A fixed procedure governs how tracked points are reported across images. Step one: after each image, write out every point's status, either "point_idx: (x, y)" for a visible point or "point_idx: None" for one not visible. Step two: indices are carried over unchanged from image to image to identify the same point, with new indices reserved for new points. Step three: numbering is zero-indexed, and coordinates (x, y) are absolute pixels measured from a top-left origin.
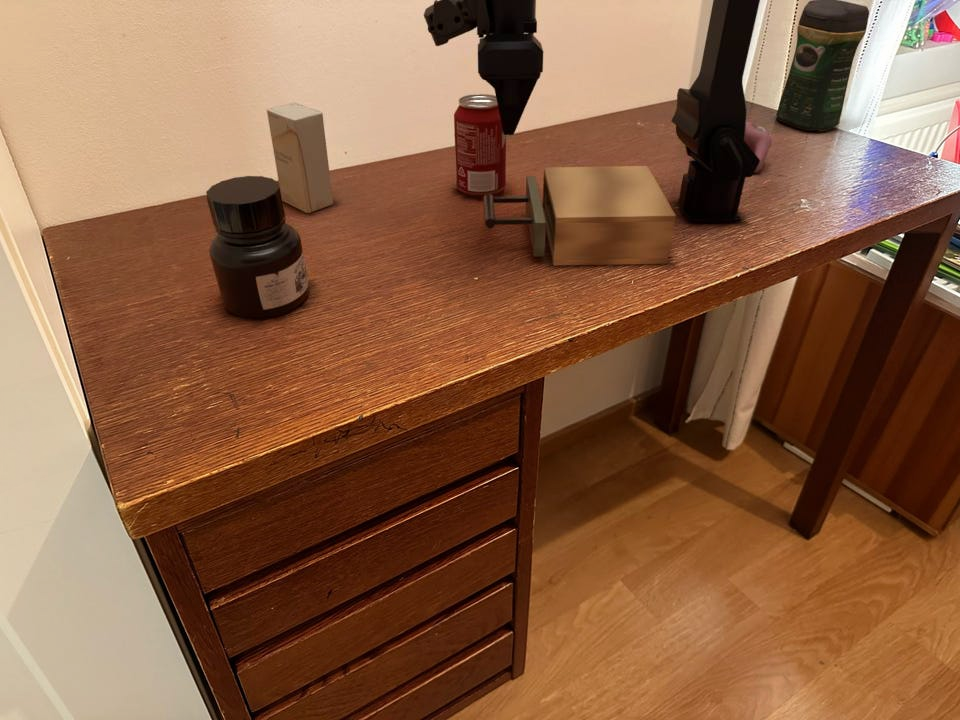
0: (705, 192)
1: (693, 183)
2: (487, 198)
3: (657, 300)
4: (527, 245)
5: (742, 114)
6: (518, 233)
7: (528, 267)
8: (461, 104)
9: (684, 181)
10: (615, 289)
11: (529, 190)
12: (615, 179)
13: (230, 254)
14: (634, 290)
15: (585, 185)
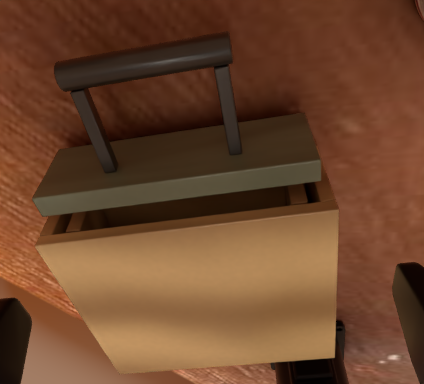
0: (282, 378)
1: (294, 379)
2: (194, 55)
3: (27, 288)
4: (139, 122)
5: None
6: (193, 99)
7: (45, 132)
8: None
9: (316, 368)
10: (32, 250)
11: (217, 174)
12: (260, 322)
13: None
14: (41, 269)
15: (221, 284)
